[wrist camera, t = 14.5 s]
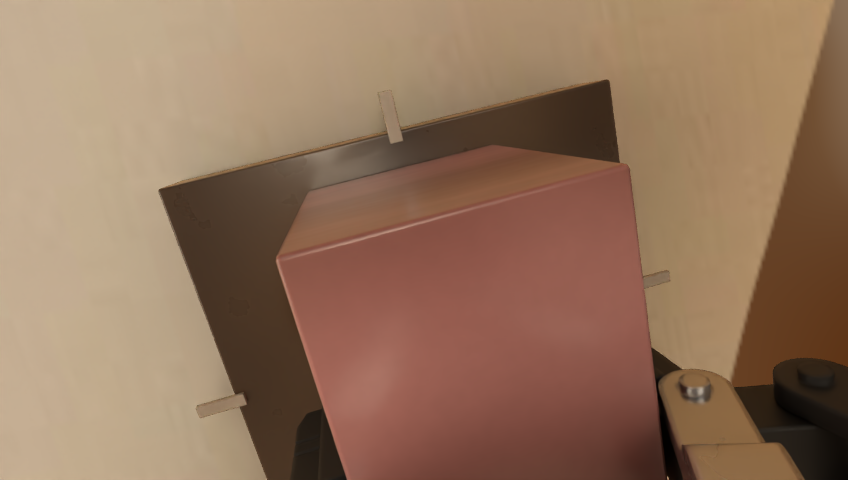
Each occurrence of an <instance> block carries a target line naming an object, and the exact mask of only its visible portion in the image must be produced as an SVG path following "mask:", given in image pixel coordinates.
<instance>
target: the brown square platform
mask: <svg viewBox="0 0 848 480" xmlns="http://www.w3.org/2000/svg"><path fill="white" fill-rule="evenodd" d="M378 96H379V100H380V104H381V108H382V112H383V116H384V120H385V124H386V128H387V131H384V132H380V133H376V134H372V135H368V136H364V137H360V138H355V139H351V140H347V141H343V142H339V143H335V144H331V145H327V146H323V147H319V148H314V149H310V150H306V151H302V152H298V153H294V154H290V155H286V156H282V157H278V158H273V159H269V160H265V161H261V162H257V163H253V164H249V165H245V166H241V167H237V168H232V169H228V170H224V171H220V172H216V173H212V174H208V175H204V176H200V177H196V178H192V179H187V180H183V181H180V182H177V183H175V184H172V185H169V186H166V187H164V188H161V189H159V195H160V197H161V200H162V202H163V205H164V208H165V210H166V213H167V216H168V218H169V221H170V224H171V226H172V229H173V232H174V234H175V237H176V240H177V242H178V245H179V247H180V250H181V253H182V255H183V258H184V261H185V263H186V266H187V269H188V271H189V274H190V277H191V279H192V282H193V285H194V287H195V290H196V292H197V295H198V298H199V300H200V303H201V306H202V308H203V311H204V314H205V316H206V319H207V322H208V324H209V327H210V329H211V332H212V335H213V337H214V340H215V343H216V345H217V348H218V351H219V353H220V356H221V359H222V361H223V364H224V367H225V369H226V372H227V374H228V377H229V380H230V382H231V385H232V388H233V390H234V393H235V395H232V396H228V397H225V398H221V399H218V400H214V401H211V402H208V403H204V404H201V405H197V407H196V410H197V413H198V415H199V418H203V417H206V416H210V415H213V414H216V413H220V412H223V411H227V410H230V409H234V408H237V407H240V409H241V412H242V414H243V417H244V419H245V422H246V425H247V427H248V430H249V433H250V435H251V438H252V441H253V443H254V446H255V449H256V451H257V454H258V457H259V459H260V462H261V464H262V467H263V470H264V472H265V475H266V478H267V480H290V477H291V470H292V462H293V457H294V447H295V445H296V444H295V440H296V433H297V427H298V426H299V424H300V423H301V421H302V420H303V418H304V417H305V415H306V414H307V413H310V412H313V411H316V410H320V409H322V402H321V399H320V396H319V393H318V390H317V387H316V384H315V381H314V377H313V374H312V371H311V368H310V365H309V362H308V359H307V356H306V353H305V350H304V347H303V344H302V341H301V338H300V335H299V332H298V329H297V326H296V322H295V319H294V316H293V313H292V310H291V307H290V304H289V301H288V298H287V295H286V292H285V289H284V286H283V283H282V280H281V277H280V274H279V271H278V268H277V264H276V256H277V254H278V252H279V250H280V248H281V246H282V244H283V242H284V240H285V238H286V236H287V234H288V232H289V230H290V228H291V226H292V224H293V221H294V219H295V217H296V215H297V213H298V211H299V209H300V207H301V205H302V203H303V201H304V199H305V197H306V195H307V193H308V192H309V191H311V190H315V189H319V188H323V187H327V186H331V185H335V184H339V183H343V182H347V181H351V180H355V179H359V178H363V177H367V176H371V175H375V174H379V173H383V172H387V171H391V170H394V169H398V168H402V167H406V166H410V165H414V164H418V163H422V162H426V161H430V160H434V159H438V158H442V157H446V156H450V155H454V154H458V153H462V152H466V151H470V150H474V149H477V148H481V147H485V146H489V145H499V146H505V147H512V148H519V149H526V150H533V151H540V152H547V153H554V154H560V155H567V156H574V157H581V158H588V159H595V160H602V161H609V162H615V163H620V161H619V153H618V145H617V137H616V129H615V121H614V113H613V106H612V98H611V90H610V82H609V80H601V81H595V82H589V83H582V84H577V85H573V86H569V87H564V88H560V89H556V90H552V91H548V92H544V93H540V94H536V95H532V96H528V97H523V98H519V99H515V100H511V101H507V102H503V103H499V104H495V105H491V106H487V107H482V108H478V109H474V110H470V111H466V112H462V113H458V114H454V115H450V116H446V117H441V118H437V119H433V120H429V121H425V122H421V123H417V124H413V125H409V126H405V127H401V128H400V125H399V121H398V117H397V112H396V108H395V104H394V100H393V96H392V91H391V90H387V91H383V92H379V93H378ZM669 281H670V275H669V271H668V270H664V271H661V272H657V273H654V274H650V275H647V276H643V283H644V289H645V288H648V287H652V286H655V285H659V284H662V283H665V282H669Z"/></svg>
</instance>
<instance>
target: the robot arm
mask: <svg viewBox="0 0 848 480" xmlns="http://www.w3.org/2000/svg"><path fill="white" fill-rule="evenodd" d="M651 349H652V357H653V365H654V374H655V382H656V390H657V398H658V407H659V415H660V423H661V431H662V440H663V448H664V456H665V464H666V472H667V476H668V477H669V480H848V367H846V366H843V365H840V364H837V363H834V362H831V361H827V360H821V359H813V358H797V359H790V360H786V361H783V362H781V363H779V364H778V365H776V366H775V367H774V369H773V384H771V385H760V386H748V387H733V386H732V384H731V383H730V382H729V381H728V380H727V379H725V378H724V377H722V376H720V375H718V374H716V373H713V372H710V371H706V370H699V369H683V370H682V369H681V368H680V367H678V366H677V365H675V364H674V363H673V362H671V361H670V360H668V359H667V358H666V357H664V356H663V355H662V354H660V353H659V352H657V351H656V350H655V349H653V348H651ZM295 444H296V445H295V447H294V457H293V462H292V470H291V477H290V480H347V478H346V475H345V472H344V469H343V466H342V463H341V460H340V457H339V454H338V451H337V448H336V445H335V442H334V439H333V435H332V432H331V429H330V426H329V423H328V420H327V417H326V414H325V411H324V408H323V405H322V409H320V410H316V411H313V412H310V413H307V414H306V415H305V417H304V418H303V420H302V421H301V423H300V424H299V426H298V427H297V433H296V440H295Z"/></svg>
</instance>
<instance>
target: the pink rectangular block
mask: <svg viewBox="0 0 848 480" xmlns="http://www.w3.org/2000/svg"><path fill="white" fill-rule="evenodd" d="M276 264H277V268H278V271H279V274H280V277H281V280H282V283H283V286H284V289H285V292H286V295H287V298H288V301H289V304H290V307H291V310H292V313H293V316H294V319H295V322H296V326H297V329H298V332H299V335H300V338H301V341H302V344H303V347H304V350H305V353H306V356H307V359H308V362H309V365H310V368H311V371H312V374H313V377H314V381H315V384H316V387H317V390H318V393H319V396H320V399H321V402H322V405H323V408H324V411H325V414H326V417H327V420H328V423H329V426H330V429H331V432H332V435H333V439H334V442H335V445H336V448H337V451H338V454H339V457H340V460H341V463H342V466H343V469H344V472H345V475H346V478H347V480H667V472H666V464H665V456H664V448H663V440H662V431H661V423H660V415H659V407H658V398H657V390H656V382H655V374H654V365H653V357H652V349H651V341H650V332H649V324H648V316H647V308H646V299H645V291H644V283H643V275H642V267H641V258H640V250H639V242H638V234H637V225H636V217H635V209H634V201H633V192H632V184H631V176H630V169H629V167H628V165H627V164H622V163H615V162H609V161H602V160H595V159H588V158H581V157H574V156H567V155H560V154H554V153H547V152H540V151H533V150H526V149H519V148H512V147H505V146H499V145H489V146H485V147H481V148H477V149H474V150H470V151H466V152H462V153H458V154H454V155H450V156H446V157H442V158H438V159H434V160H430V161H426V162H422V163H418V164H414V165H410V166H406V167H402V168H398V169H394V170H391V171H387V172H383V173H379V174H375V175H371V176H367V177H363V178H359V179H355V180H351V181H347V182H343V183H339V184H335V185H331V186H327V187H323V188H319V189H315V190H311V191H309V192H308V193H307V195H306V197H305V199H304V201H303V203H302V205H301V207H300V209H299V211H298V213H297V215H296V217H295V219H294V221H293V224H292V226H291V228H290V230H289V232H288V234H287V236H286V238H285V240H284V242H283V244H282V246H281V248H280V250H279V252H278V254H277V256H276Z"/></svg>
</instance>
